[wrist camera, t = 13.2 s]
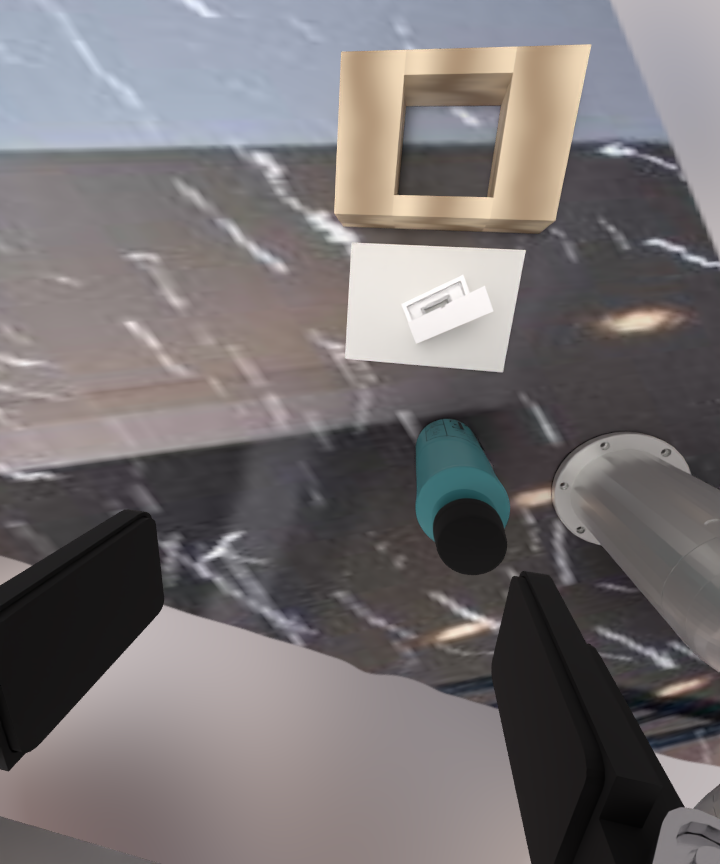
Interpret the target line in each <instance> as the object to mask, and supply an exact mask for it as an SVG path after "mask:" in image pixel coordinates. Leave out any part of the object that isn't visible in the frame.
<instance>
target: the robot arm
mask: <svg viewBox="0 0 720 864" xmlns="http://www.w3.org/2000/svg"><path fill="white" fill-rule="evenodd" d="M602 443H603V444H602ZM601 444H602V445H601ZM561 483H563V484H561ZM560 484H561V485H560ZM551 495H552V502H553V506H554V509H555V511H556V514H557V515H558V517H559V518H560V520H561V521H562V522H563V524H564V525H565V526H566V527H567V528H568V530H570V531H571V532H572V533H573V534H575V535H576V536H578V537H579V538H581V539H583V540H585V541H587V542H591V543H594V544H597V545H602V546H603V548H604V549H605V550H606V551H607V552H608V553H609V555H610V556H611V557H612V558H613V559H614V561H615V562H616V563H617V564H618V565H619V566H620V568H621V569H622V570H623V571H624V572H625V573H626V575H627V576H628V577H629V578H630V579H631V581H632V582H633V583H634V584H635V585H636V586H637V588H638V589H639V590H640V591H641V592H642V593H643V595H644V596H645V597H646V598H647V599H648V601H649V602H650V603H651V604H652V605H653V606H654V608H655V609H656V610H657V611H658V612H659V614H660V615H661V616H662V617H663V618H664V619H665V621H666V622H667V623H668V624H669V625H670V626H671V628H672V629H673V630H674V631H675V632H676V634H677V635H678V636H679V637H680V638H681V639H682V641H683V642H684V643H685V644H686V645H687V646H688V647H689V648H690V649H691V650H692V651H693V652H694V653H695V654H696V655H697V656H698V657H699V658H700V659H702V660H703V661H704V662H705V663H706V664H708V665H709V666H710V667H712V668H713V669H715V670H716V671H718V672H719V673H720V490H718V489H717V488H715V487H713V486H711V485H709V484H707V483H705V482H703V481H702V480H700V479H698V478H696V477H694V476H692V475H691V472H690V469H689V466H688V464H687V462H686V461H685V459H684V457H683V456H682V455H681V454H680V453H679V452H678V451H677V450H676V449H675V448H674V447H672V446H671V445H669V444H668V443H666V442H665V441H662V440H660V439H658V438H656V437H654V436H650V435H647V434H643V433H638V432H614V433H609V434H605V435H601V436H598V437H596V438H593V439H591V440H589V441H587V442H585V443H584V444H582V445H580V446H579V447H577V448H576V449H575V450H574V451H573V452H571V453H570V454H569V455H568V456H567V457H566V459H565V460H564V461H563V462H562V463H561V465H560V467H559V468H558V470H557V472H556V474H555V477H554V480H553V483H552V494H551ZM163 603H164V593H163V584H162V575H161V566H160V558H159V549H158V540H157V531H156V523H155V521H154V520H153V519H152V518H151V515H150V514H149V513H147V512H142V511H136V510H129V509H127V510H123V511H121V512H119V513H118V514H116V515H114V516H113V517H111V518H109V519H108V520H106V521H104V522H103V523H101V524H100V525H98V526H96V527H95V528H93V529H91V530H90V531H88V532H87V533H85V534H83V535H82V536H80V537H78V538H77V539H75V540H73V541H72V542H70V543H69V544H67V545H65V546H64V547H62V548H60V549H59V550H57V551H56V552H54V553H52V554H51V555H49V556H47V557H46V558H44V559H43V560H41V561H39V562H38V563H36V564H34V565H33V566H31V567H30V568H28V569H26V570H25V571H23V572H22V573H20V574H18V575H17V576H15V577H13V578H12V579H10V580H8V581H7V582H5V583H4V584H2V585H0V769H1V770H5V771H10V769H11V768H12V767H13V766H14V765H15V764H16V763H17V762H18V761H19V760H20V759H21V758H22V756H23V755H24V754H25V753H27V752H30V751H32V750H33V749H35V748H36V747H37V746H38V745H39V744H40V743H41V742H42V741H43V740H44V739H45V738H46V737H47V735H49V733H50V732H51V731H52V730H53V729H54V728H55V727H56V726H57V725H58V724H59V722H60V721H61V720H62V719H63V718H64V717H65V716H66V715H67V714H68V713H69V711H70V710H71V709H72V708H73V707H74V706H75V705H76V704H77V703H78V701H80V699H81V698H82V697H83V696H84V695H85V694H86V693H87V692H88V691H89V689H90V688H91V687H92V686H93V685H94V684H95V683H96V682H97V681H98V680H99V679H100V677H101V676H102V675H103V674H104V673H105V672H106V671H107V670H108V669H109V668H110V666H111V665H112V664H113V663H114V662H115V661H116V660H117V659H118V658H119V657H120V655H121V654H122V653H123V652H124V651H125V650H126V649H127V648H128V647H129V646H130V645H131V643H132V642H133V641H134V640H135V639H136V638H137V637H138V636H139V635H140V634H141V633H142V631H143V630H144V629H145V628H146V627H147V626H148V625H149V624H150V622H152V620H153V619H154V618H155V617H156V616H157V615H158V614H159V612H160V611H161V609H162V607H163ZM492 680H493V685H494V690H495V694H496V699H497V704H498V709H499V713H500V718H501V723H502V727H503V732H504V737H505V742H506V746H507V751H508V756H509V760H510V765H511V770H512V775H513V779H514V784H515V789H516V793H517V798H518V803H519V808H520V812H521V817H522V821H523V827H524V831H525V836H526V841H527V845H528V850H529V855H530V859H531V864H720V784H719V785H718V786H717V787H716V788H715V789H713V790H712V791H711V792H710V793H708V794H707V795H706V796H705V797H704V798H703V799H702V800H701V801H700V802H699V803H698V804H697V805H696V806H695V807H694V808H693V809H691V808H685V807H684V805H683V803H682V802H681V800H680V798H679V796H678V794H677V793H676V791H675V789H674V787H673V785H672V784H671V782H670V780H669V778H668V776H667V775H666V773H665V771H664V769H663V767H662V766H661V764H660V762H659V760H658V758H657V757H656V755H655V753H654V751H653V750H652V748H651V746H650V744H649V742H648V741H647V739H646V737H645V735H644V733H643V732H642V730H641V728H640V726H639V724H638V723H637V721H636V719H635V717H634V715H633V714H632V712H631V710H630V708H629V706H628V705H627V703H626V701H625V699H624V698H623V696H622V694H621V692H620V690H619V689H618V687H617V685H616V683H615V681H614V680H613V678H612V676H611V674H610V672H609V671H608V669H607V667H606V665H605V663H604V662H603V660H602V658H601V656H600V655H599V653H598V652H597V650H596V649H595V648H594V647H593V646H592V645H590V644H586V642H585V640H584V638H583V636H582V634H581V632H580V630H579V629H578V627H577V625H576V623H575V621H574V619H573V617H572V616H571V614H570V612H569V610H568V608H567V606H566V604H565V602H564V601H563V599H562V597H561V595H560V593H559V591H558V589H557V588H556V586H555V584H554V582H553V580H552V578H551V577H550V576H549V575H545V574H539V573H533V572H526V571H523V572H521V574H520V576H519V577H517V576H513V577H512V579H511V583H510V587H509V592H508V596H507V600H506V604H505V609H504V613H503V617H502V621H501V626H500V630H499V634H498V638H497V643H496V647H495V651H494V656H493V660H492ZM0 864H160V863H156V862H153V861H150V860H147V859H143V858H140V857H136V856H133V855H130V854H126V853H123V852H120V851H116V850H113V849H110V848H106V847H103V846H99V845H96V844H92V843H89V842H86V841H82V840H79V839H76V838H72V837H69V836H66V835H62V834H59V833H55V832H52V831H49V830H45V829H42V828H38V827H35V826H32V825H28V824H25V823H21V822H18V821H14V820H11V819H8V818H4V817H1V816H0Z"/></svg>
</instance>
